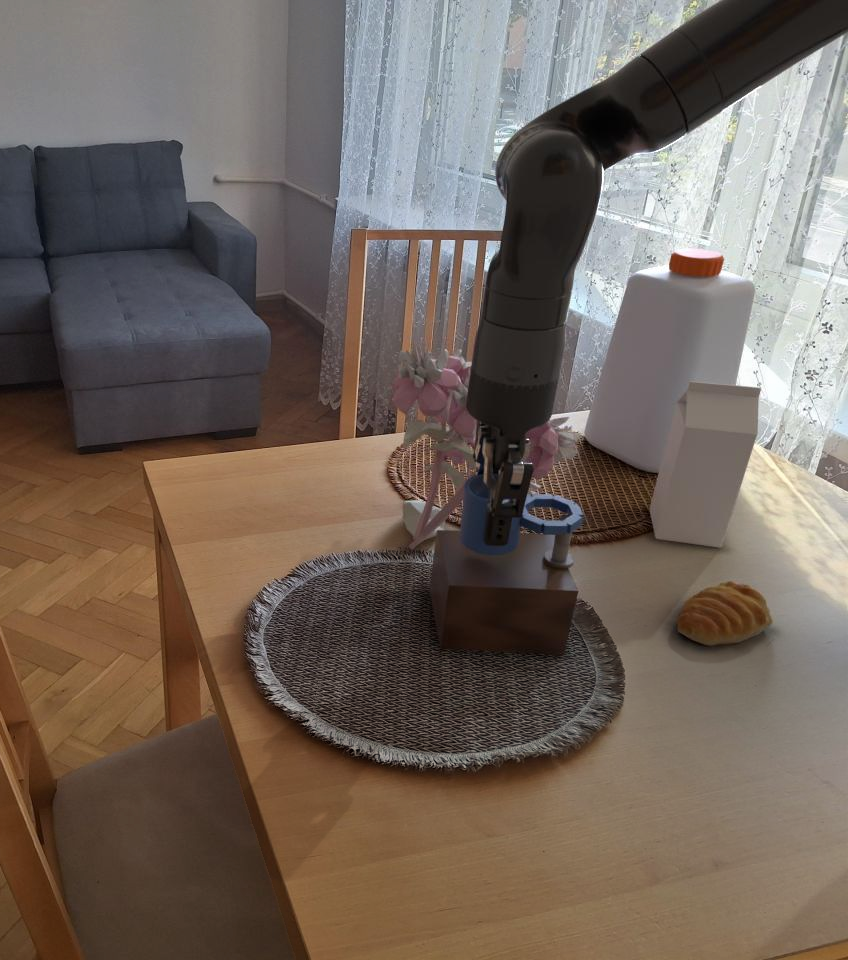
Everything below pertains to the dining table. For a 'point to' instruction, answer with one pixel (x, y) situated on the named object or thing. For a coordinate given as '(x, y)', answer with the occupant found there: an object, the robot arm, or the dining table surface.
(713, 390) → the milk carton
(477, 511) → the blue mug
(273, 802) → the dining table surface
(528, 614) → the walnut box
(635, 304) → the plastic bottle
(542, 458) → the flower
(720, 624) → the pastry
